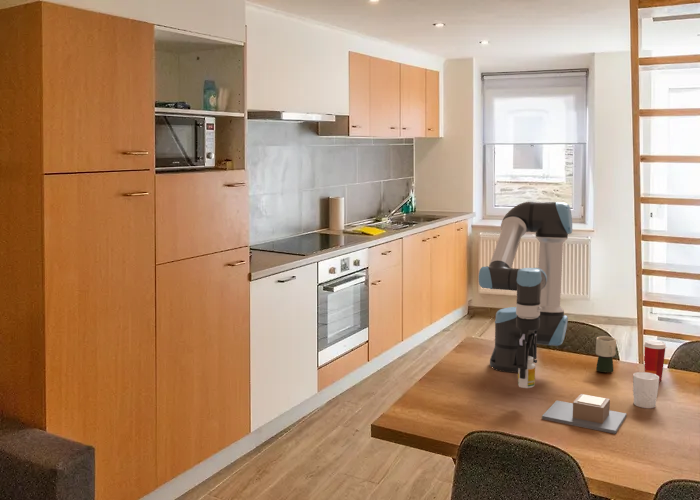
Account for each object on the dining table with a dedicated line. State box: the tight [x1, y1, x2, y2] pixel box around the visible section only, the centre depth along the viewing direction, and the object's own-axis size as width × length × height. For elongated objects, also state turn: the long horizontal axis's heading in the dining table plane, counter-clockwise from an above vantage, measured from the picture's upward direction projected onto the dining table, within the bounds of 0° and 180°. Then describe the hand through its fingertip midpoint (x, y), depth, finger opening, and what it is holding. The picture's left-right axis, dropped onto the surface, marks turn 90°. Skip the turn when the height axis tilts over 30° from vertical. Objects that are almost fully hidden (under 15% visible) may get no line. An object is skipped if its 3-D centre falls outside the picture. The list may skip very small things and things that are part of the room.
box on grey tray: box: [541, 393, 627, 434], centre depth 214 cm, size 22×16×6 cm
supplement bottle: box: [517, 356, 536, 389], centre depth 223 cm, size 5×5×10 cm
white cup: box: [632, 371, 660, 409], centre depth 224 cm, size 8×8×10 cm
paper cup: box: [643, 339, 667, 382], centre depth 249 cm, size 8×8×14 cm
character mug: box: [595, 335, 617, 374], centre depth 258 cm, size 11×7×13 cm, turn 6°
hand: (526, 384), depth 224 cm, fingers closed on supplement bottle, 5 cm apart
